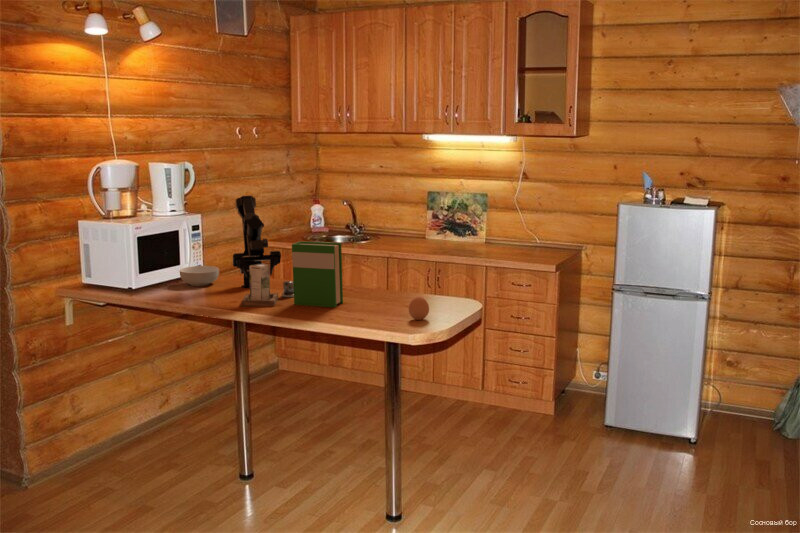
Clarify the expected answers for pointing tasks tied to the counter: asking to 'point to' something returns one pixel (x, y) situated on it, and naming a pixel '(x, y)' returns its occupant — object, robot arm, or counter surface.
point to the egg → (418, 308)
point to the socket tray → (259, 301)
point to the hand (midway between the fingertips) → (259, 276)
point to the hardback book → (317, 273)
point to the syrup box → (259, 282)
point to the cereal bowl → (199, 275)
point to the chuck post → (288, 289)
